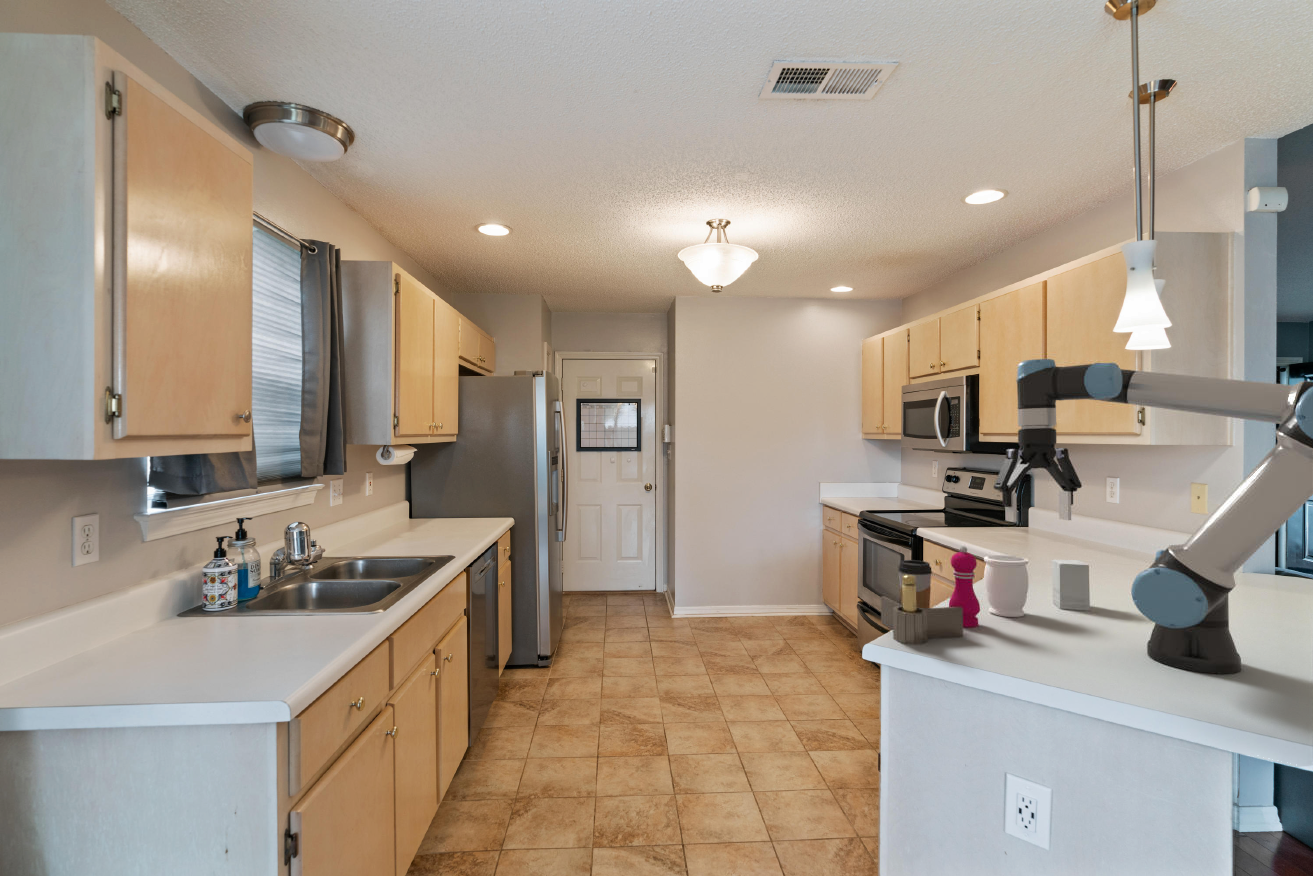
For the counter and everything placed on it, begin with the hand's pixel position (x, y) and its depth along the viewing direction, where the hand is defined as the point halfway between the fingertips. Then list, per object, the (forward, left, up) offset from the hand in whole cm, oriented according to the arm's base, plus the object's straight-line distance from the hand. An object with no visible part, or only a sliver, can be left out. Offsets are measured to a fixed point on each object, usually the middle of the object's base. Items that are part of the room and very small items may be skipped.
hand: (1038, 520), depth 144 cm
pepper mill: (+19, +6, -29) cm, 35 cm away
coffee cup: (+25, +16, -29) cm, 41 cm away
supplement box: (+29, -33, -29) cm, 53 cm away
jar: (+26, -11, -29) cm, 40 cm away
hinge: (+15, +21, -29) cm, 39 cm away
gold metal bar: (+10, +26, -29) cm, 40 cm away
